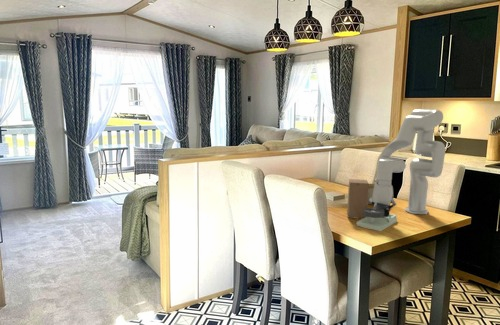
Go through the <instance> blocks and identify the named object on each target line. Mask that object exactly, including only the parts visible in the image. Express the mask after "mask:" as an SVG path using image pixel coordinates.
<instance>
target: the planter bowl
mask: <svg viewBox="0 0 500 325" xmlns="http://www.w3.org/2000/svg"><path fill="white" fill-rule="evenodd" d="M368 183H369V182H368ZM375 184H376V183H369V188H368V203H367V205H373V204H372V203H371V202H370V201H369V199H370V198H371V197H372V194H373V189H374V185H375Z"/></svg>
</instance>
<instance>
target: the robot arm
mask: <svg viewBox="0 0 500 325" xmlns="http://www.w3.org/2000/svg"><path fill="white" fill-rule="evenodd" d="M410 113H411V114H410V115H407V116H405V117H404V119H403V120H402V123H401V125H400V127H399V131H398V133H397V135H396V137H395V139H393V141H391V142H390V143H388V144H387V145H386V146H385V147H384V148H383V150H382V151H381V154H380V156H379V158H378V161H377V170H376V171H377V172H376V178H374V182H375V183H374V184H375V185H374V189H373V194H372V197H371V198H370V199H369V201H370V202H371V203H372V204H371V205H372V206H373V208H375V205H377V204H385V205H386V210H385V217H387V216H389V214H390V211H391V209H392V208H394V207H395V206H397V202H396V201H395V199H394V187H393V185H392V180H393V173H396V174H397V173H402V172H403V171H404V170H405V169H406V166H407V164H406V161H404V160H403V159H402V158H397V157H391V156H392V154H394V153H395V152H396V151H399V150H402V149H404V148H408V147H410V146H411V145H412V143H413V141H414V139H415V137H416V141H415V148H414V149H415V150H414V151H415V154H416V155H417V156H419V157H424V158H419V157H418V158H414V159H412V160H411V161H410V163H409V174H410V180H409V181H410V182H409V184H410V185H409V192H408V204H407V207H405V209H404V210H405V212H407V213H409V214H415V215H427V214H428V213H429V210H428V209H427V208H426V207H427V198H428V187H429V182H428V178H439V177H440V176H441V175H442V172H443V168H444V162H445V155H446V146H445V144H444V143H443V142H442V141H439V140H434V128H436V127H438V126H439V125H441V123H442V122H443V120H444V114H443V112H442V111H441V110H440V109H431V108H430V109H428V108H427V109H426V108H424V109H423V108H422V109H421V108H418V109H417V108H416V109H414V110H412V112H410ZM416 134H417V135H416ZM425 158H427V159H425ZM428 158H431V159H428ZM427 177H428V178H427Z"/></svg>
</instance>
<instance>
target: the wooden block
mask: <svg viewBox="0 0 500 325" xmlns="http://www.w3.org/2000/svg"><path fill="white" fill-rule="evenodd" d="M368 188H369V181H368V180H367V179H358V178H357V179H356V178H355V179H354V178H349V179H348V191H347V207H346V208H347V209H346V212H347V218H350V219H351V218H352V219H353V218H354V219H363V218H365V217H366V216H365V215H364V214H363V209H366V208H368V204H367V203H368Z"/></svg>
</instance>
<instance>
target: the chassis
mask: <svg viewBox="0 0 500 325" xmlns="http://www.w3.org/2000/svg"><path fill="white" fill-rule="evenodd" d="M373 212H376V211H373ZM397 222H398V217H397V214H392V213H389V216H387V217H385V218H381V217H380V218H371V217H367V216H366V217H365V218H360V219H358V220H357V221H356V226H357V227H362V228H365V229H370V230H373V231H378V232H382V231H384V230H386V229H387V228H389V227H390V226H392V225H394V224H395V223H397Z"/></svg>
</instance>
